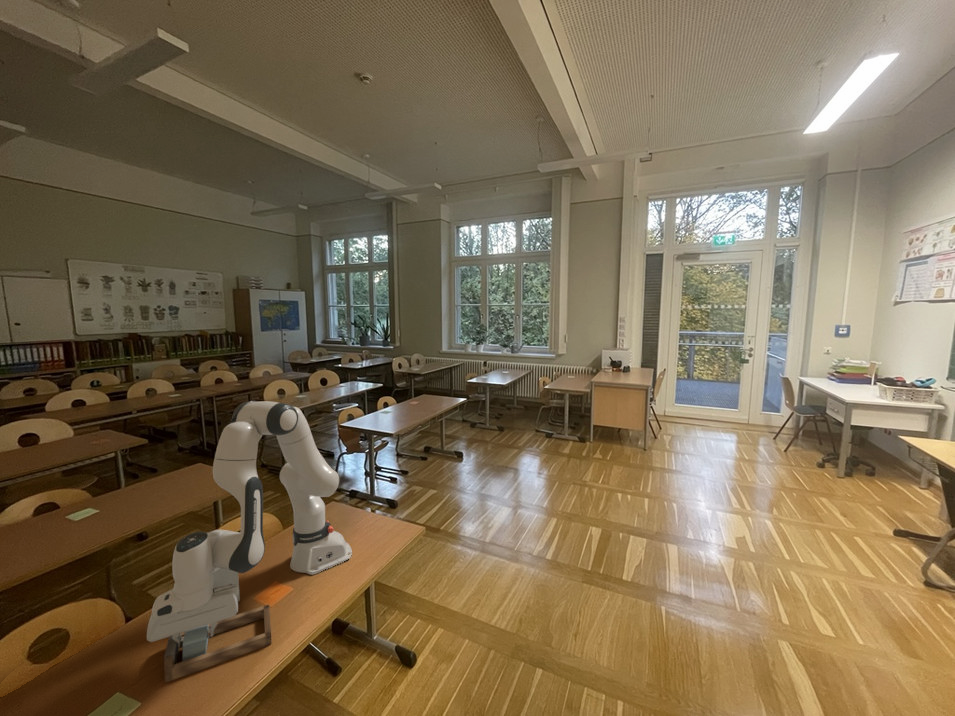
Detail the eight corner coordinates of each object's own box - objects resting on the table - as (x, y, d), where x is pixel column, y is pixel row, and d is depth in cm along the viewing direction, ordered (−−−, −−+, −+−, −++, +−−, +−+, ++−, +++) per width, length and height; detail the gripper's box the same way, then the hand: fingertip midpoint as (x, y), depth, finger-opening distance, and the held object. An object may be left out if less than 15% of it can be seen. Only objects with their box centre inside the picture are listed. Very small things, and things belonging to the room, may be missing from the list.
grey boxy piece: (208, 637, 110) (208, 618, 110) (205, 658, 104) (205, 637, 103) (187, 644, 108) (187, 624, 108) (182, 665, 101) (182, 644, 101)
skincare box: (232, 594, 129) (231, 552, 128) (240, 601, 126) (239, 559, 124) (203, 608, 122) (202, 565, 121) (211, 617, 119) (209, 572, 117)
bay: (269, 613, 121) (268, 595, 121) (271, 644, 110) (270, 624, 109) (173, 644, 109) (172, 625, 108) (164, 683, 97) (162, 661, 97)
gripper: (238, 575, 112) (240, 618, 114) (149, 599, 102) (151, 647, 103) (238, 588, 107) (239, 633, 108) (143, 614, 97) (146, 665, 98)
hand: (195, 640), depth 106 cm, fingers closed on grey boxy piece, 5 cm apart
